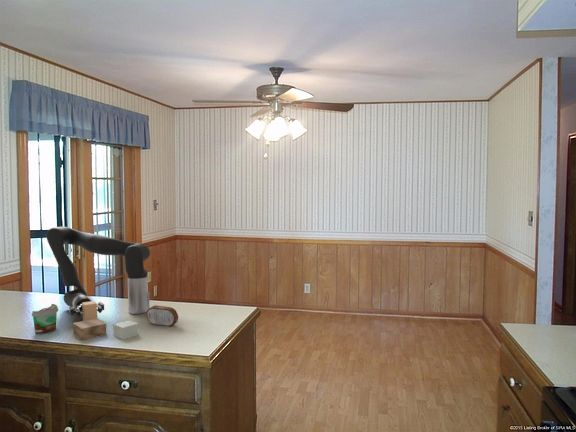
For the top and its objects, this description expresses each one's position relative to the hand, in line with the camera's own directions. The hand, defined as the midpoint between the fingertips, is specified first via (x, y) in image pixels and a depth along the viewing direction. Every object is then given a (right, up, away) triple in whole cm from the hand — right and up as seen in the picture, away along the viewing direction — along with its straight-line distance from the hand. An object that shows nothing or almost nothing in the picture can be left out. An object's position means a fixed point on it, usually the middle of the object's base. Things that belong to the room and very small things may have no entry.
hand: (90, 312), depth 201 cm
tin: (+32, -6, +1) cm, 32 cm away
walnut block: (+4, -7, -11) cm, 14 cm away
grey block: (+20, -7, -12) cm, 24 cm away
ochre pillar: (-1, -6, +1) cm, 6 cm away
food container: (-15, -7, -6) cm, 17 cm away
